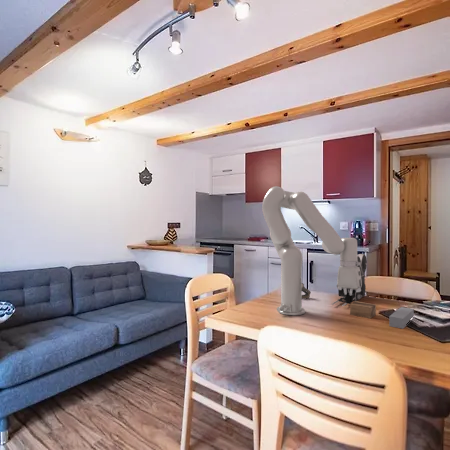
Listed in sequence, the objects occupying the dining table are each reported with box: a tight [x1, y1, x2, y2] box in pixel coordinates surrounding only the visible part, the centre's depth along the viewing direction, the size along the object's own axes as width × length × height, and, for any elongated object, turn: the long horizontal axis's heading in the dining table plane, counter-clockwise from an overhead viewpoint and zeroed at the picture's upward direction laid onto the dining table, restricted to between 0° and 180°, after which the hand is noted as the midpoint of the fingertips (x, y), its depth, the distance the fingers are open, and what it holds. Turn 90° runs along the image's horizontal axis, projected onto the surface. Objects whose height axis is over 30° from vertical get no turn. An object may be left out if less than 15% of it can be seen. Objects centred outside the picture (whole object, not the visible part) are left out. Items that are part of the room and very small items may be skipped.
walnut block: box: [349, 300, 377, 319], centre depth 145 cm, size 7×9×5 cm
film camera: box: [331, 253, 368, 307], centre depth 172 cm, size 40×12×24 cm, turn 141°
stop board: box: [388, 306, 415, 330], centre depth 134 cm, size 18×5×4 cm, turn 138°
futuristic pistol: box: [302, 282, 311, 299], centre depth 177 cm, size 2×15×10 cm, turn 82°
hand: (349, 303), depth 149 cm, fingers closed
